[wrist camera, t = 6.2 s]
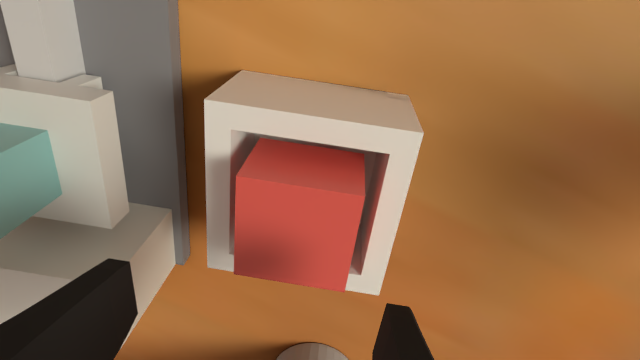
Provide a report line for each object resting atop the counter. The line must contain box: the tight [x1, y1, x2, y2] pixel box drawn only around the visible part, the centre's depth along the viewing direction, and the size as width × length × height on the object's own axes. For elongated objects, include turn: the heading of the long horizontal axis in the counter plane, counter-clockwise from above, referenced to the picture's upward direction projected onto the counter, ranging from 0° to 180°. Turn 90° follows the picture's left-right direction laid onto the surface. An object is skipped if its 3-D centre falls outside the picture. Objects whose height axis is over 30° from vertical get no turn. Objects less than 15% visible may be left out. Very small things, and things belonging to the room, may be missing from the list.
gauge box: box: [204, 70, 424, 295], centre depth 18 cm, size 8×8×5 cm
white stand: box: [0, 0, 190, 349], centre depth 15 cm, size 24×10×7 cm, turn 173°
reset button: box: [234, 138, 365, 292], centre depth 15 cm, size 4×4×4 cm
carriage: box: [0, 64, 129, 239], centre depth 15 cm, size 6×7×7 cm
